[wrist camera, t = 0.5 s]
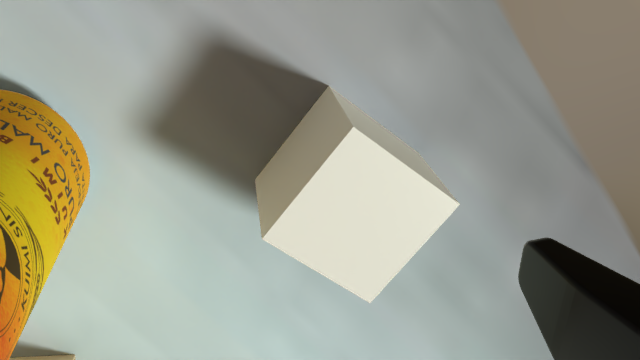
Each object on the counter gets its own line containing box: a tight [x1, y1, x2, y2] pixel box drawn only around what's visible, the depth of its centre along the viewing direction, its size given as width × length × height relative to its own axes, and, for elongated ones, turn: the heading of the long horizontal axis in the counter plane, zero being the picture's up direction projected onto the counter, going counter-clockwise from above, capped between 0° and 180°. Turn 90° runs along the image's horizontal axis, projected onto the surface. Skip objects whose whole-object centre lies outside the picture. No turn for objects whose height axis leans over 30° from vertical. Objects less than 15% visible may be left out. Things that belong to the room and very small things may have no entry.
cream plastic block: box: [255, 86, 460, 303], centre depth 23 cm, size 5×5×5 cm
